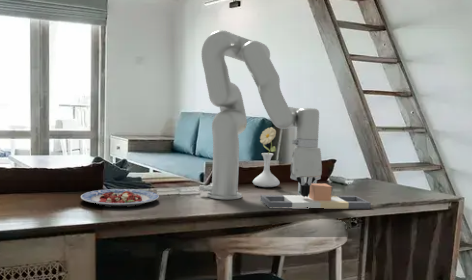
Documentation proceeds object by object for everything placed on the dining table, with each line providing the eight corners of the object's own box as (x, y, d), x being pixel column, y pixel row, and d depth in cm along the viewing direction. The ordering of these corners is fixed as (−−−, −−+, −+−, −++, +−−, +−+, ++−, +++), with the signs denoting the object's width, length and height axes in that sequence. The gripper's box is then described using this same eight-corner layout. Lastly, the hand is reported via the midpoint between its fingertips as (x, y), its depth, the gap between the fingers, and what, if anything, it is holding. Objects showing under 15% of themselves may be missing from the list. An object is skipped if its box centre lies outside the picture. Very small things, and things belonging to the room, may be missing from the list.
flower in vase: (248, 184, 223) (251, 125, 221) (273, 184, 227) (276, 126, 225) (259, 189, 211) (261, 127, 209) (285, 189, 214) (288, 128, 212)
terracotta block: (314, 200, 182) (315, 186, 182) (309, 197, 188) (309, 183, 188) (330, 200, 183) (331, 186, 183) (325, 197, 189) (325, 183, 189)
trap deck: (268, 208, 176) (269, 202, 176) (260, 200, 189) (260, 195, 189) (370, 208, 182) (370, 202, 182) (355, 201, 195) (355, 195, 195)
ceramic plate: (77, 196, 186) (77, 187, 186) (150, 193, 195) (150, 185, 195) (84, 212, 162) (84, 202, 162) (166, 208, 171) (166, 199, 171)
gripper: (288, 144, 178) (286, 198, 180) (331, 145, 181) (328, 198, 182) (283, 142, 186) (281, 194, 187) (324, 143, 188) (321, 194, 189)
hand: (304, 195), depth 185 cm, fingers closed
